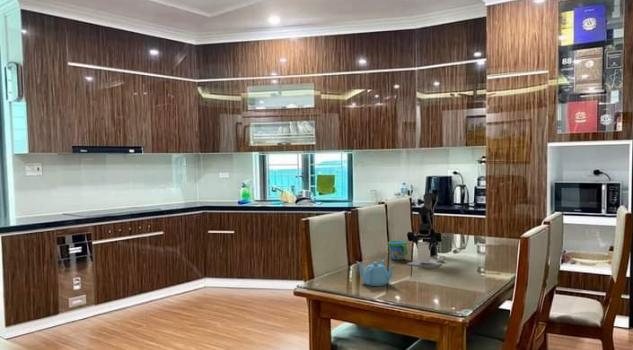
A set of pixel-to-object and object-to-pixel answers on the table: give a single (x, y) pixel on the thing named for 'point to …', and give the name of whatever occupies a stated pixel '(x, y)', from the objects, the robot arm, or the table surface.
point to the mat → (424, 264)
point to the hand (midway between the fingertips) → (423, 249)
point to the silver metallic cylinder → (440, 259)
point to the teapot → (375, 274)
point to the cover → (423, 251)
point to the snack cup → (397, 249)
